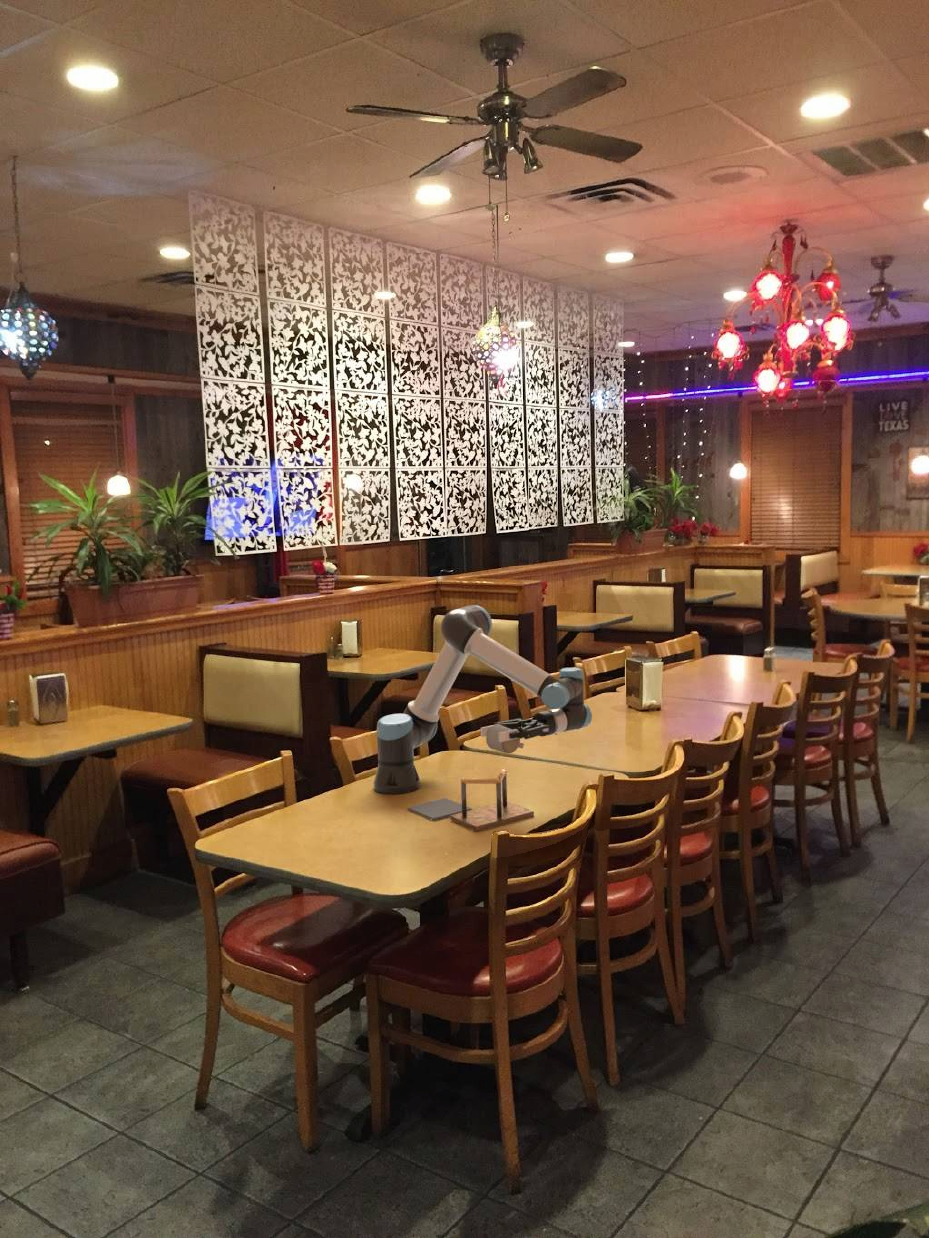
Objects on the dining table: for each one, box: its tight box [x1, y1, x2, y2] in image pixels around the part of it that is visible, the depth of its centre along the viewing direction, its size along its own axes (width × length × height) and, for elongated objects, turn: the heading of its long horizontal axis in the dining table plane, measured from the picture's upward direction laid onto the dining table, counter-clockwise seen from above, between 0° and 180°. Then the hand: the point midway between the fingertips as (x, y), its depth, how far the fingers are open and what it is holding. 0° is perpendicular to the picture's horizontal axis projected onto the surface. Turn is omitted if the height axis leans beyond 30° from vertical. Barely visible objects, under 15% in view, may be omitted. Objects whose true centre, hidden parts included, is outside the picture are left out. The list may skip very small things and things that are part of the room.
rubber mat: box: [407, 797, 473, 821], centre depth 301 cm, size 14×14×1 cm
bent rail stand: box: [449, 768, 535, 832], centre depth 291 cm, size 13×21×13 cm, turn 126°
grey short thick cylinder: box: [485, 724, 525, 754], centre depth 298 cm, size 11×8×8 cm
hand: (490, 734), depth 293 cm, fingers closed on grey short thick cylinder, 8 cm apart
